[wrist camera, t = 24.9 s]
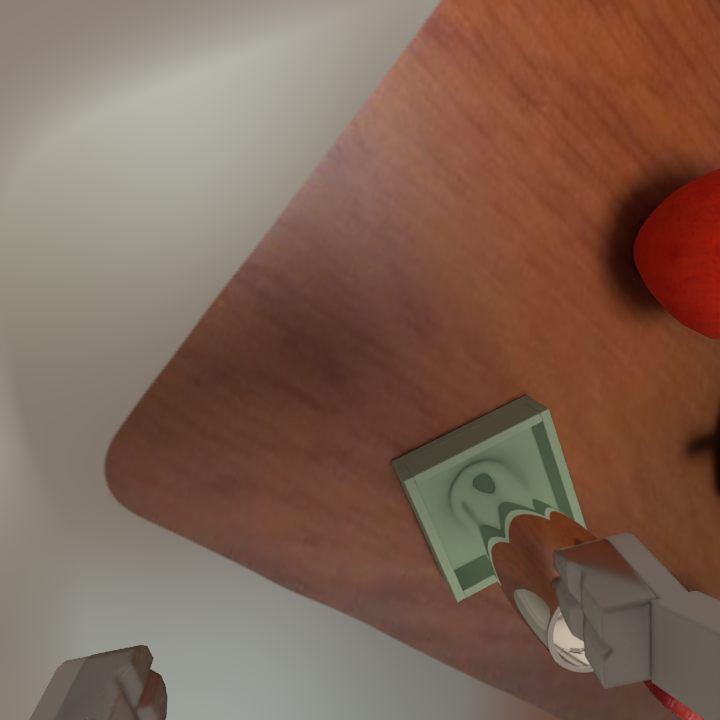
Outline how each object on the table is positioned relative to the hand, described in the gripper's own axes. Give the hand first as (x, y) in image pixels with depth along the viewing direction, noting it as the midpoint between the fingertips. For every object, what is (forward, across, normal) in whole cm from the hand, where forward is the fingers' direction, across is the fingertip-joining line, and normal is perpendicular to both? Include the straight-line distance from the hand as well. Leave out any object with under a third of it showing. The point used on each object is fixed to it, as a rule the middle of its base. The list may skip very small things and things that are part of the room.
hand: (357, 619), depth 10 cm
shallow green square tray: (+29, -10, +18) cm, 36 cm away
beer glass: (+28, -10, +18) cm, 35 cm away
